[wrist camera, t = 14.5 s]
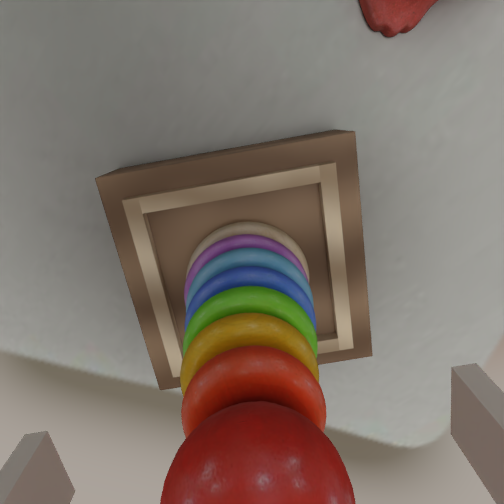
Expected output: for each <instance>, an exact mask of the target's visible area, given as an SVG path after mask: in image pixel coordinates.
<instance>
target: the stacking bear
mask: <svg viewBox="0 0 504 504" xmlns="http://www.w3.org/2000/svg"><path fill="white" fill-rule="evenodd" d="M437 1H438V0H359V2H360V5H361V8H362V11H363V14H364V16H365V18H366V21H367V23H368V25H369V26H370V27H371V29H372V30H374V31H381V32H382V33H383V34H384V35H385V36H387V37H393V36H395V35H397V34H398V33H399V32H401V33H406V32H408V31H410V30H411V29H413V28H414V27H415V26H416V25H417V24H418V23H419V21H420V20H421V19H422V17H423V16H424V15H425V13H426V12H427V11H428V9H429V8H430V7H431V6H432V5H433V4H434V3H435V2H437Z"/></svg>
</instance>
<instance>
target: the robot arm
mask: <svg viewBox="0 0 504 504" xmlns="http://www.w3.org/2000/svg"><path fill="white" fill-rule="evenodd" d="M451 435H452V436H453V438H454V440H455V441H456V443H457V444H458V446H459V447H460V449H461V450H462V452H463V453H464V455H465V456H466V458H467V459H468V461H469V463H470V464H471V466H472V467H473V468H474V470H475V472H476V473H477V475H478V476H479V478H480V479H481V481H482V482H483V484H484V485H485V487H486V488H487V490H488V492H489V493H490V494H491V496H492V498H493V499H494V500H495V502H496V504H504V393H503V391H502V390H501V389H500V388H499V387H498V386H497V385H496V384H495V383H494V382H493V381H492V380H491V379H490V378H489V377H488V376H487V374H486V373H485V372H484V371H483V370H482V369H481V368H480V367H479V366H478V365H477V364H476V363H475V364H468V365H462V366H456V367H452V372H451ZM74 493H75V490H74V487H73V485H72V483H71V481H70V479H69V477H68V474H67V472H66V470H65V468H64V466H63V464H62V462H61V460H60V457H59V455H58V453H57V451H56V448H55V446H54V444H53V442H52V440H51V438H50V435H49V434H48V432H47V431H44V432H38V433H32V434H26V435H24V436H23V438H22V439H21V441H20V442H19V444H18V445H17V447H16V449H15V450H14V451H13V453H12V454H11V456H10V457H9V459H8V460H7V462H6V463H5V465H4V466H3V468H2V469H1V470H0V504H70V502H71V500H72V497H73V495H74Z"/></svg>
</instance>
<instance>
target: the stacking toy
mask: <svg viewBox="0 0 504 504" xmlns="http://www.w3.org/2000/svg"><path fill="white" fill-rule="evenodd" d="M184 300H185V306H186V317H185V335H184V341H183V360H182V365H181V371H180V383H181V390H182V394H183V396H184V398H183V403H182V411H181V413H182V425H183V430H184V433H185V436H186V439H185V441H184V442H183V444H182V445H181V447H180V448H179V449H178V452H177V453H176V455H175V458H174V460H173V462H172V464H171V466H170V469H169V471H168V474H167V476H166V479H165V482H164V487H163V491H162V496H161V503H160V504H355V498H354V493H353V488H352V485H351V482H350V479H349V476H348V474H347V471H346V468H345V466H344V464H343V462H342V460H341V458H340V455H339V453H338V451H337V450H336V448H335V447H334V445H333V444H332V442H331V441H330V440H329V438H328V437H327V436H326V435H325V434H324V433H323V432H324V429H325V423H326V405H325V399H324V396H323V393H322V390H321V387H320V385H319V370H318V363H317V360H316V358H317V351H318V343H317V336H316V317H315V312H314V303H313V296H312V292H311V288H310V286H309V269H308V264H307V261H306V258H305V256H304V254H303V252H302V250H301V249H300V247H299V246H298V244H297V243H296V242H295V241H294V240H293V239H292V238H291V237H290V236H289V235H287V234H286V233H285V232H283V231H281V230H280V229H278V228H276V227H273V226H271V225H268V224H264V223H260V222H238V223H233V224H229V225H226V226H224V227H222V228H219V229H217V230H216V231H214V232H212V233H211V234H210V235H208V236H207V237H206V238H205V239H204V240H203V241H202V242H201V243H200V244H199V245H198V247H197V248H196V249H195V251H194V253H193V254H192V256H191V258H190V261H189V264H188V267H187V273H186V282H185V288H184Z"/></svg>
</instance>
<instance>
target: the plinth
mask: <svg viewBox="0 0 504 504" xmlns="http://www.w3.org/2000/svg"><path fill="white" fill-rule="evenodd" d="M95 180H96V184H97V187H98V190H99V193H100V197H101V200H102V203H103V206H104V210H105V213H106V216H107V219H108V223H109V226H110V229H111V232H112V236H113V239H114V242H115V245H116V249H117V252H118V255H119V258H120V262H121V265H122V268H123V271H124V275H125V278H126V281H127V284H128V288H129V291H130V294H131V297H132V301H133V304H134V307H135V310H136V314H137V317H138V320H139V323H140V327H141V330H142V333H143V336H144V340H145V343H146V346H147V349H148V353H149V356H150V359H151V362H152V366H153V369H154V372H155V375H156V379H157V382H158V385H159V388H160V390H165V389H171V388H177V387H181V383H180V371H181V365H182V360H183V341H184V335H185V317H186V306H185V300H184V288H185V282H186V273H187V267H188V264H189V261H190V258H191V256H192V254H193V253H194V251H195V249H196V248H197V247H198V245H199V244H200V243H201V242H202V241H203V240H204V239H205V238H206V237H207V236H208V235H210V234H211V233H212V232H214V231H216V230H217V229H219V228H222V227H224V226H226V225H229V224H233V223H238V222H260V223H264V224H268V225H271V226H273V227H276V228H278V229H280V230H281V231H283V232H285V233H286V234H287V235H289V236H290V237H291V238H292V239H293V240H294V241H295V242H296V243H297V244H298V246H299V247H300V249H301V250H302V252H303V254H304V256H305V258H306V261H307V264H308V269H309V286H310V288H311V292H312V296H313V303H314V312H315V317H316V336H317V343H318V351H317V358H316V360H317V363H318V365H320V364H326V363H332V362H338V361H344V360H350V359H357V358H363V357H369V356H372V344H371V331H370V318H369V305H368V292H367V280H366V267H365V254H364V241H363V228H362V215H361V202H360V189H359V176H358V164H357V151H356V138H355V131H345V130H330V131H325V132H319V133H314V134H308V135H302V136H297V137H291V138H286V139H280V140H275V141H269V142H264V143H258V144H252V145H247V146H241V147H236V148H230V149H225V150H219V151H214V152H208V153H203V154H197V155H191V156H186V157H180V158H175V159H169V160H164V161H158V162H153V163H147V164H142V165H136V166H130V167H125V168H119V169H117V170H114V171H112V172H109V173H107V174H104V175H102V176H99V177H97V178H95Z"/></svg>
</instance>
